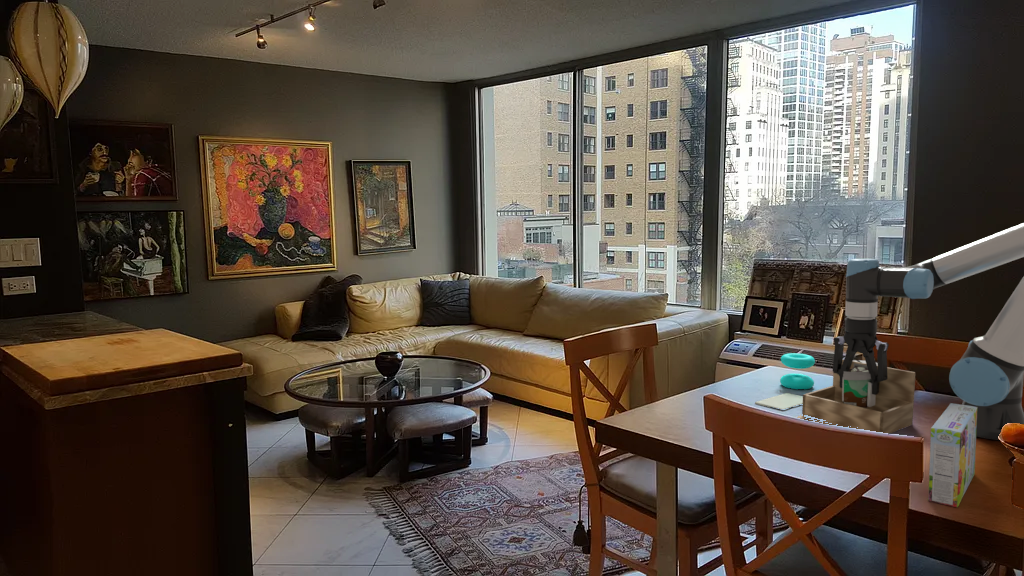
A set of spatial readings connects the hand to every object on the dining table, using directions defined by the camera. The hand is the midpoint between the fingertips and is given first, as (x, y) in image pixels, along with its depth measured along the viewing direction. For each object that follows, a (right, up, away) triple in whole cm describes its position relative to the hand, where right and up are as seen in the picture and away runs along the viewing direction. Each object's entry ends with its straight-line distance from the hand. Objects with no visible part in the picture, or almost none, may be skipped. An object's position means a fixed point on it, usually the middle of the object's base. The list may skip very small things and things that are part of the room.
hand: (858, 402), depth 181 cm
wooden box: (-3, -5, -1) cm, 6 cm away
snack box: (-3, -10, -42) cm, 44 cm away
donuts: (-2, -1, +35) cm, 35 cm away
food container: (0, -1, 0) cm, 1 cm away
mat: (-12, -3, +18) cm, 22 cm away
